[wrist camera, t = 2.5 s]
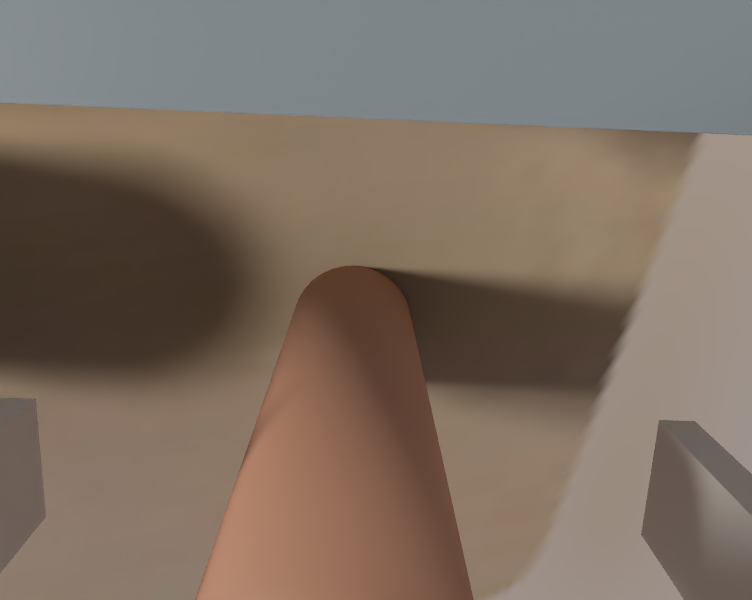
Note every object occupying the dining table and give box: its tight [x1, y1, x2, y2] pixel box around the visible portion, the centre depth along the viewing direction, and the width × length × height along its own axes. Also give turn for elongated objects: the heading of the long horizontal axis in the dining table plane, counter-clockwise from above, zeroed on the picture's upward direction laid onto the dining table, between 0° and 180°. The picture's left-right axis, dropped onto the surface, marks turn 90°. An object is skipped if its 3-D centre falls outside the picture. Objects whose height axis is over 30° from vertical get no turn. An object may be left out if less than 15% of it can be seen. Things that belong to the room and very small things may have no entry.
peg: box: [195, 266, 473, 600], centre depth 16 cm, size 4×4×16 cm
